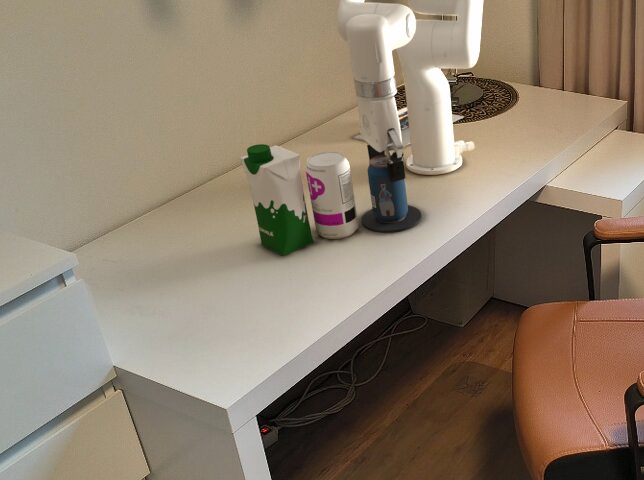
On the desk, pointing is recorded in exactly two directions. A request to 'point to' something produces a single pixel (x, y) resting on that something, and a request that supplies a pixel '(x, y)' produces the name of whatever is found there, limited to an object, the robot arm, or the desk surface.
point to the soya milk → (278, 197)
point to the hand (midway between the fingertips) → (387, 171)
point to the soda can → (386, 192)
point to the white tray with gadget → (407, 126)
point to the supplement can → (331, 195)
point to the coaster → (375, 225)
